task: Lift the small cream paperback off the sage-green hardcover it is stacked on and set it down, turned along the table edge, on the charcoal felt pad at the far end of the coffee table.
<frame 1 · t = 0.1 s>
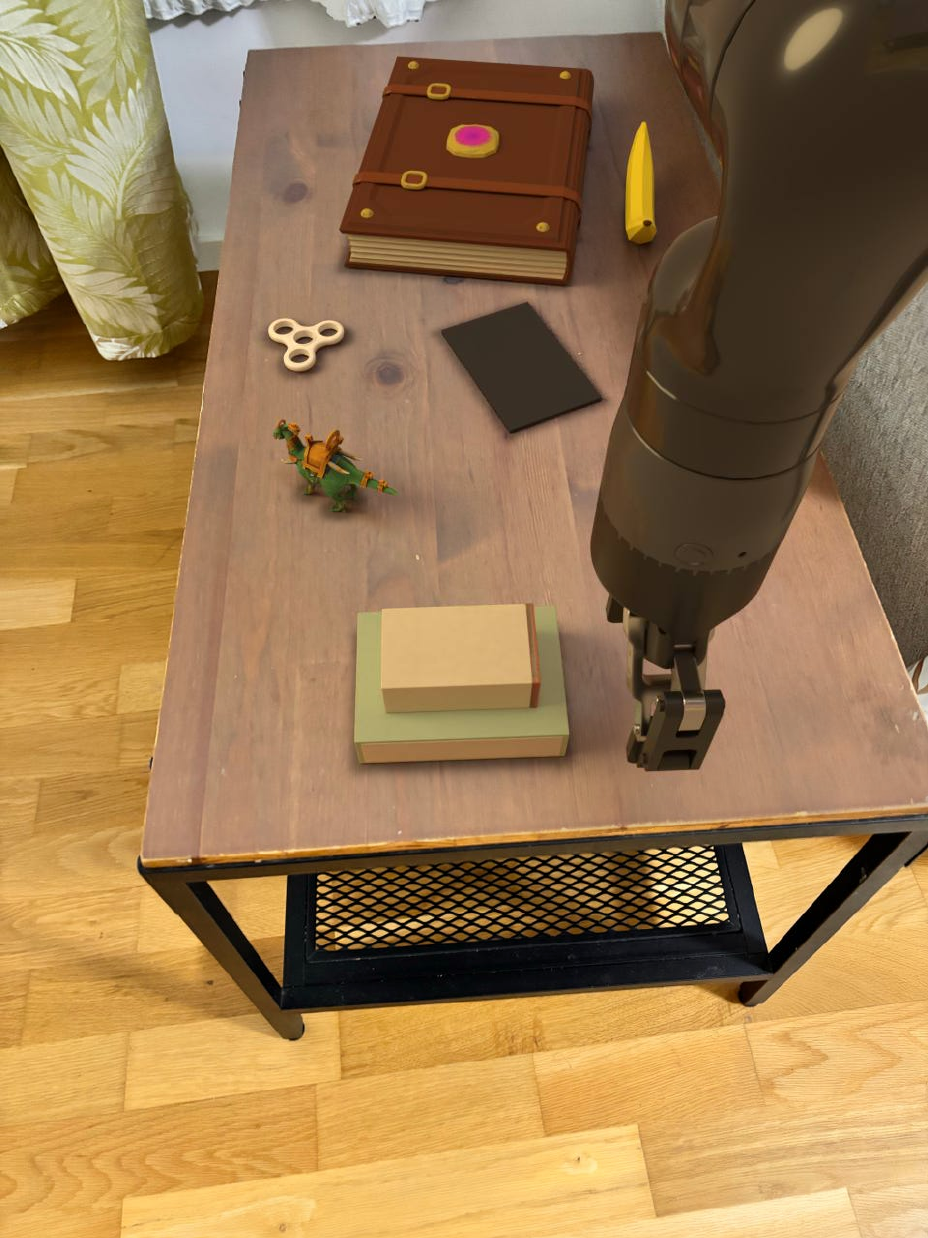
hand: (635, 683, 50), 14 cm above the table, tool pointing down, fingers open, 8 cm apart
book: (477, 183, 98), on the table
figurine: (341, 502, 75), on the table
bottom book: (459, 694, 65), on the table, touching top book
top book: (459, 670, 62), point 3 cm above the table, touching bottom book
felt pad: (519, 365, 83), on the table
banana: (636, 222, 94), on the table
fidget spinner: (304, 349, 84), on the table
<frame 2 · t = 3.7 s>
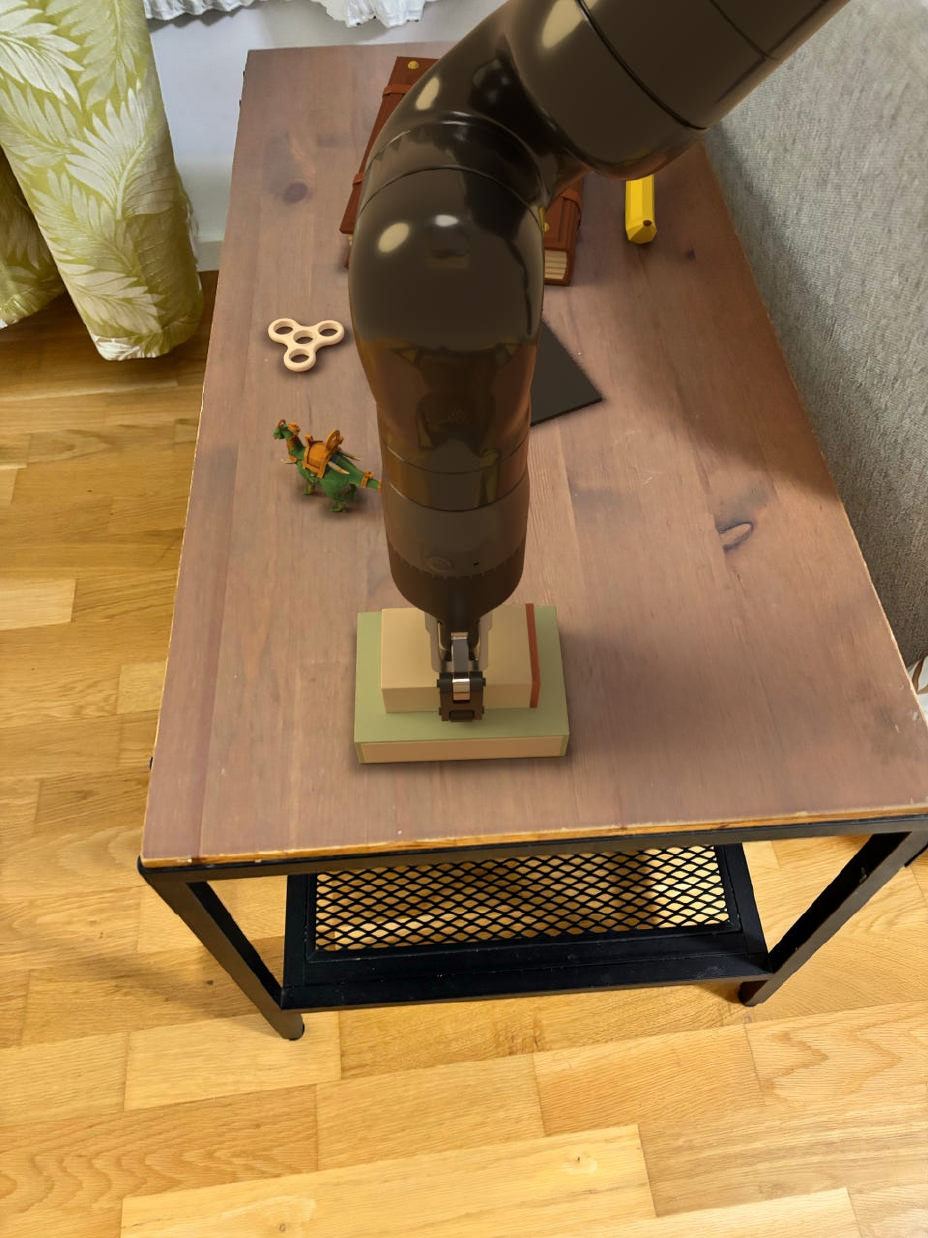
hand: (459, 669, 62), 4 cm above the table, tool pointing down, fingers closed on top book, 6 cm apart
top book: (459, 670, 62), point 4 cm above the table, touching bottom book, gripper
everything else where it was.
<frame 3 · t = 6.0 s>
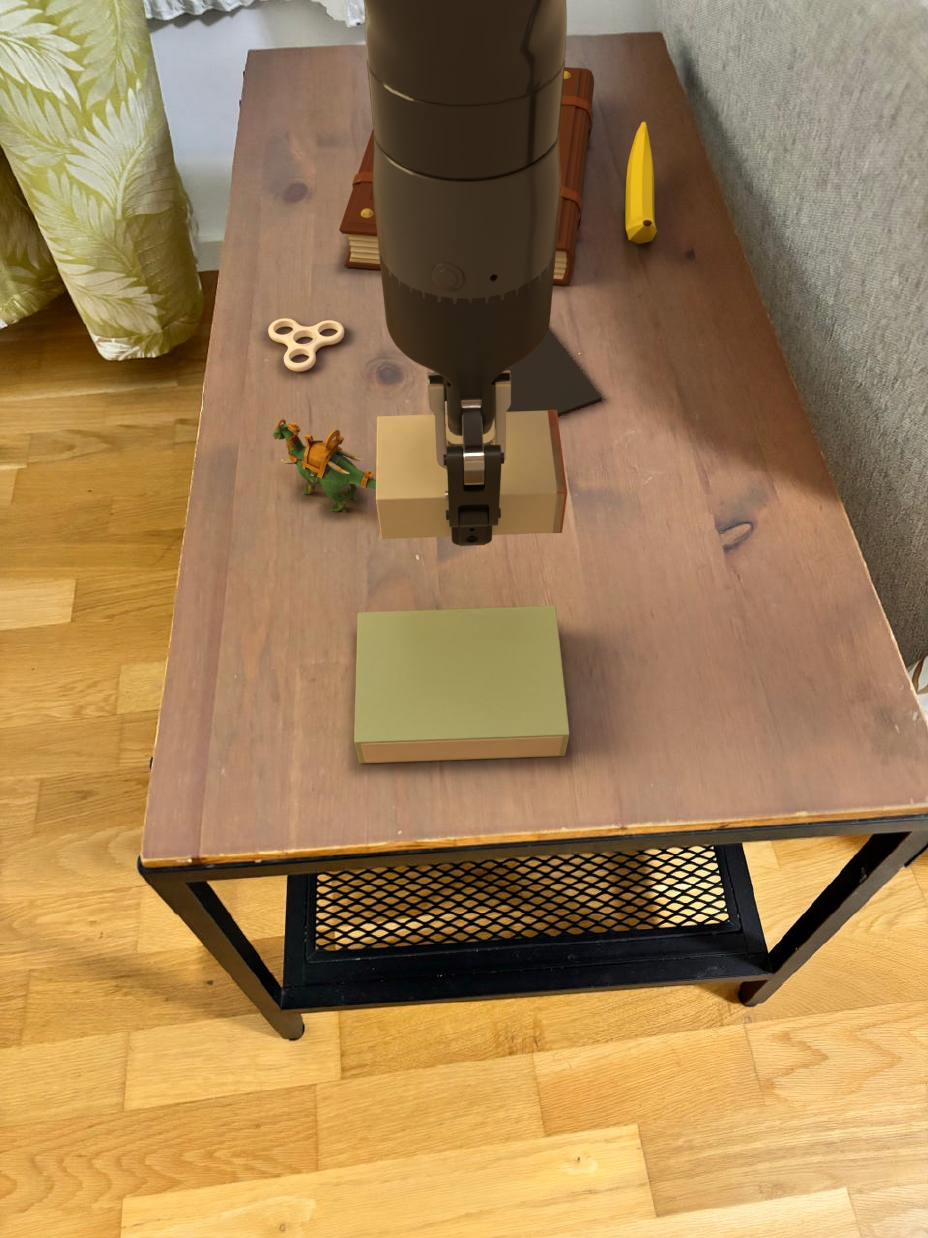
hand: (469, 492, 53), 17 cm above the table, tool pointing down, fingers closed on top book, 6 cm apart
bottom book: (459, 694, 65), on the table
top book: (469, 494, 53), point 17 cm above the table, touching gripper
everything else where it was.
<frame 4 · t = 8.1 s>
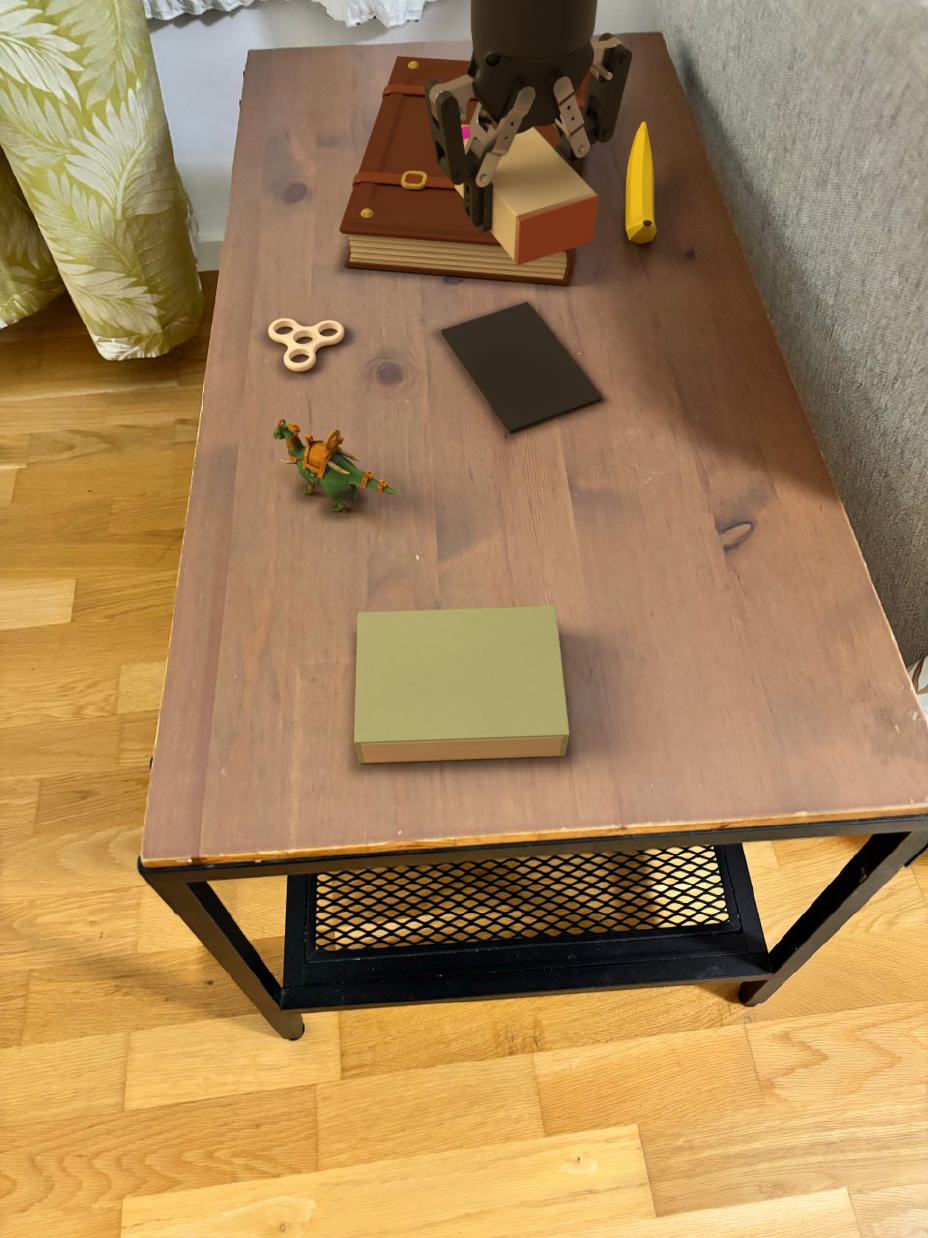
hand: (522, 212, 66), 17 cm above the table, tool pointing down, fingers closed on top book, 6 cm apart
top book: (521, 213, 67), point 17 cm above the table, touching gripper
everything else where it was.
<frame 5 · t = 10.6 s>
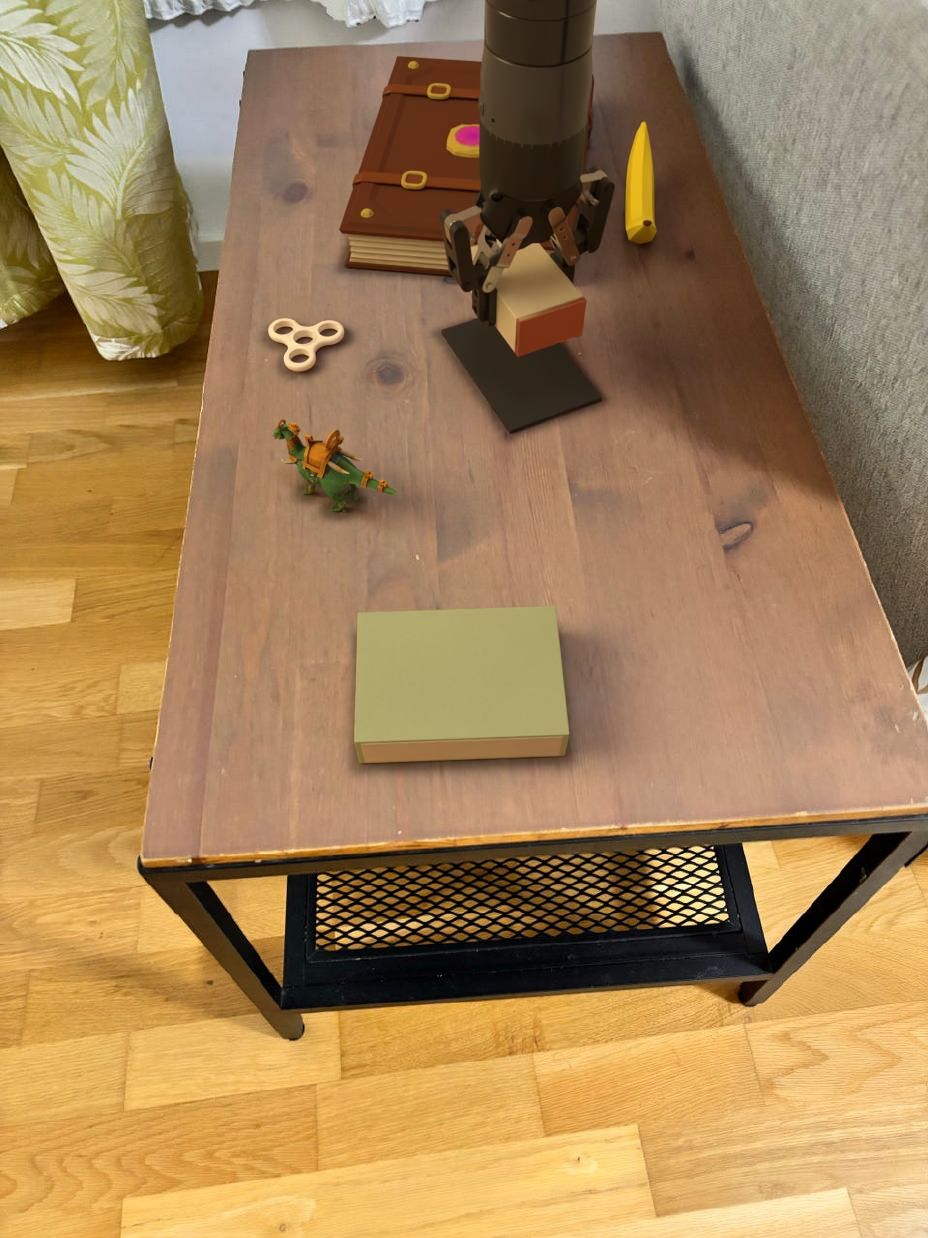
hand: (522, 307, 77), 6 cm above the table, tool pointing down, fingers closed on top book, 6 cm apart
top book: (521, 308, 78), point 6 cm above the table, touching gripper
everything else where it was.
when the fingers open (1 cm above the table, at t = 12.6 s): top book stays where it is, resting on felt pad.
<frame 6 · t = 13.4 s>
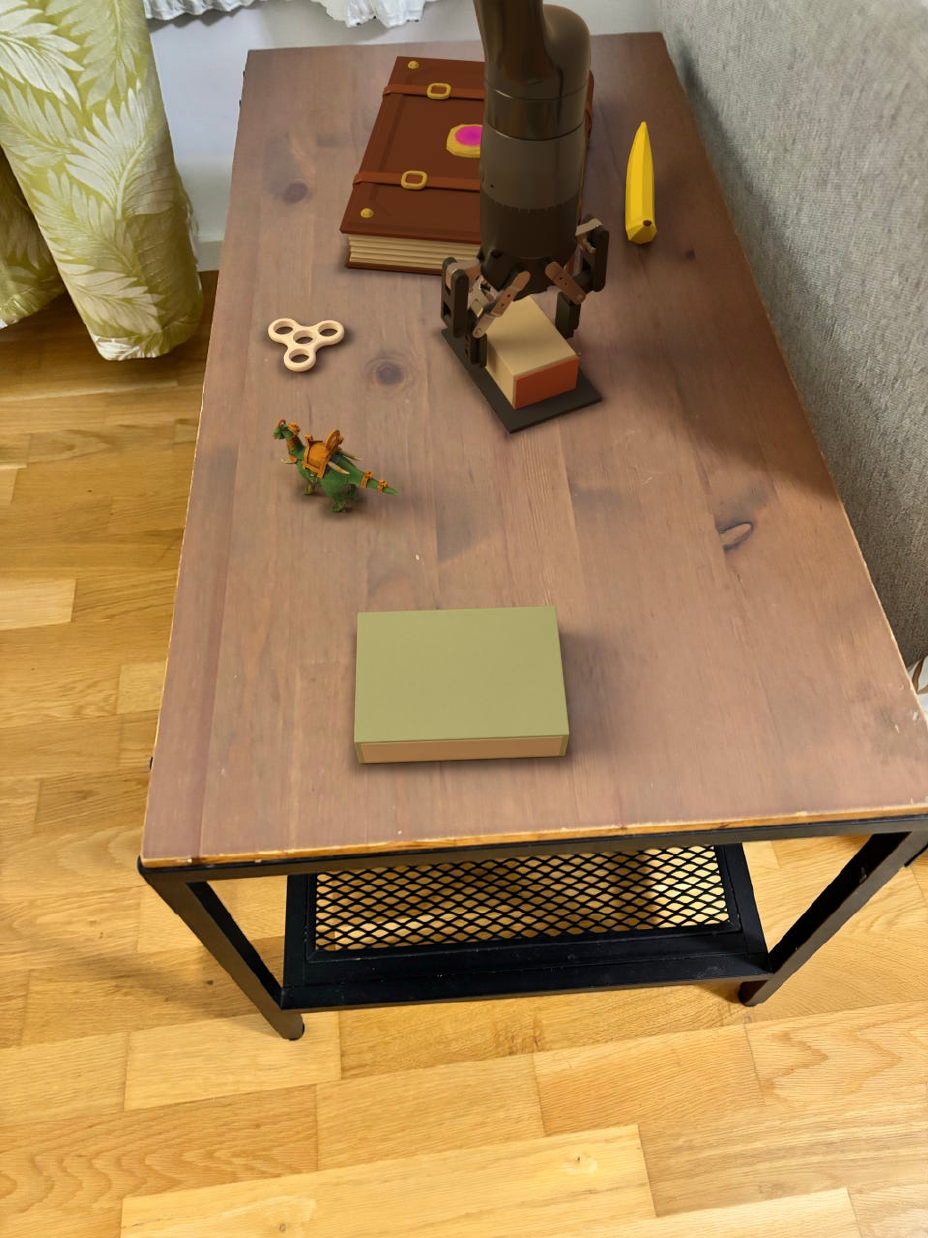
hand: (521, 347, 81), 2 cm above the table, tool pointing down, fingers open, 8 cm apart
top book: (518, 362, 83), resting on felt pad
everything else where it was.
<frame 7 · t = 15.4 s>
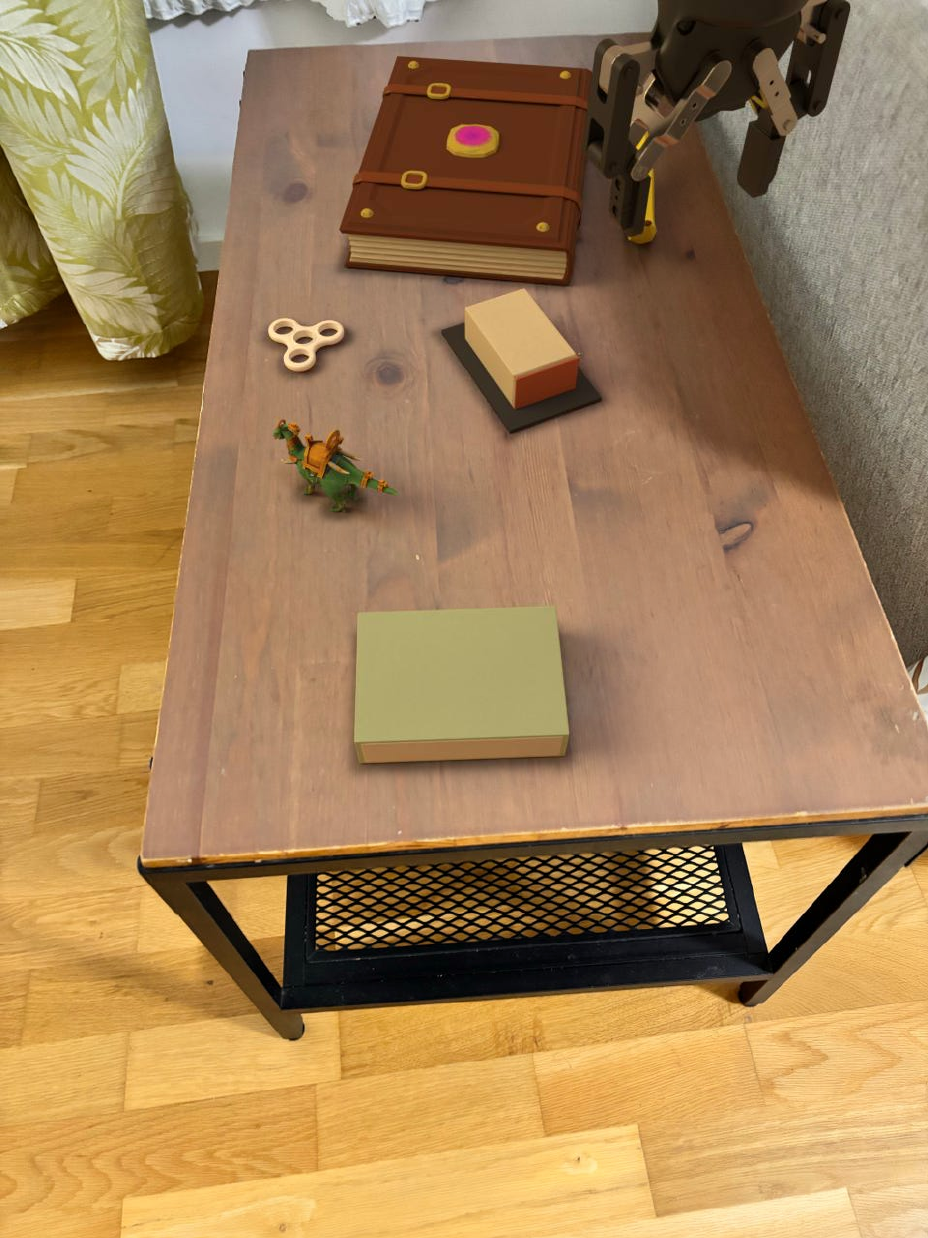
hand: (690, 208, 55), 24 cm above the table, tool pointing down, fingers open, 8 cm apart
nothing on the table moved.
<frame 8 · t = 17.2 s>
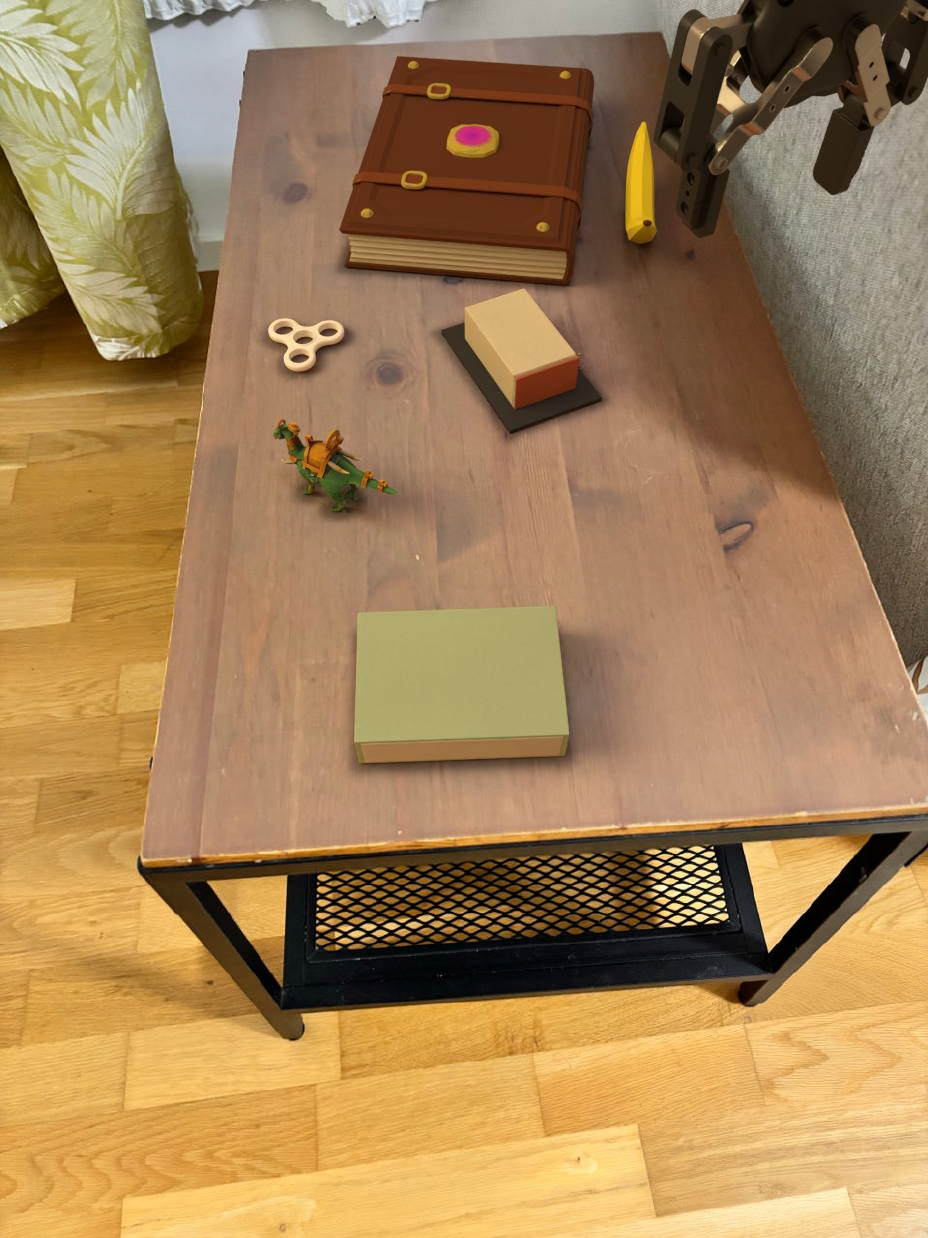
hand: (763, 206, 49), 28 cm above the table, tool pointing down, fingers open, 8 cm apart
nothing on the table moved.
at the end: top book 0.1 cm off-centre on the felt pad, point 0.4 cm above the felt pad's base; top book touching felt pad; bottom book moved 0.0 cm from its start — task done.
